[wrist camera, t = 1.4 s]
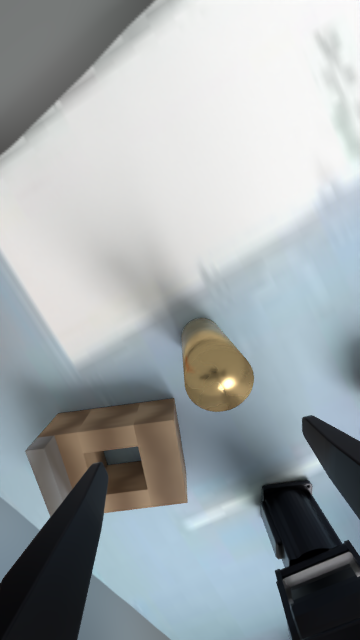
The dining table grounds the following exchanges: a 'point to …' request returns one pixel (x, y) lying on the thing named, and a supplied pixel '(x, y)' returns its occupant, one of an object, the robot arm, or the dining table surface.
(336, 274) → the dining table surface
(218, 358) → the brass cylinder rod
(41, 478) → the jig
